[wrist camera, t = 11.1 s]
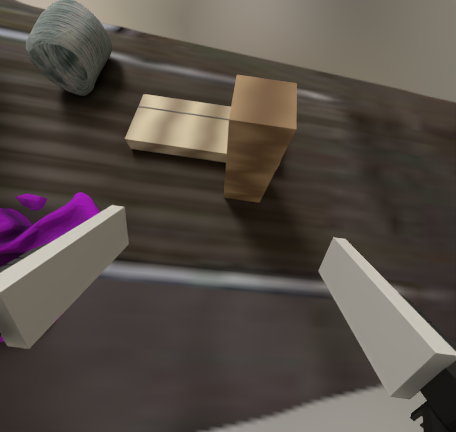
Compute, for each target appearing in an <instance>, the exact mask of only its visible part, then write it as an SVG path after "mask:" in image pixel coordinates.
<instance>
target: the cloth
mask: <svg viewBox="0 0 456 432" xmlns="http://www.w3.org/2000/svg"><path fill="white" fill-rule="evenodd" d="M16 198H17V199H18V200H19V201H20V202H21V204H22V205H24V206H26V207H28V208H30V210H40V209H42V208H43V207H44V205H45V202H46V200H47V198H43V197H39V196H35V195H31V194H24V195H20V196H17V197H16ZM98 213H100V211H99V209H98V208H97V206H96V205H95V204H94V202H93V201H92V199H91V198H90V197H89V196H88V195H86V194H85V193H82V192H81V193H77V194H75V195H74V197H73V199H72V200H71V201H70V202H69V203H68V204H66V205H65V206H63V207H61V208H60V209H58V210H56V211H54V212H52V213H50V214H48V215H47V216H45V217H44V218H42V219H40V220H39V221H38V222H36V223H35V224H34V225H32V224H31V222H30V221H29V220H28V219H27V218H26V217H25V216H24V215H22V214H21V213H20V212H19V211H17V210H14V209H3V208H0V267H2V266H4V265H5V266H6V265H7V263H9V262H11V261H12V260H14V259H18V257H19V256H21V255H23V254H24V253H26V252H28V251H29V250H31V249H34V248H36V247H39V246H42V245H44V244H47V243H48V244H49V243H50V242H52V241H54V240H55V239H57V238H59V237H60V236H62V235H64V234H65V233H67V232H69V231H70V230H72V229H74V228H75V227H77V226H79V225H80V224H82V223H84V222H85V221H87V220H88V219H90V218H92V217H93V216H95V215H97V214H98ZM60 317H61V316H60ZM60 317H59V318H60ZM59 318H58V319H59ZM58 319H57V320H58ZM57 320H56V321H57ZM56 321H55V322H56ZM0 342H5V341H4V340H3V338H2V337H1V336H0Z"/></svg>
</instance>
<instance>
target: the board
mask: <svg viewBox="0 0 456 432" xmlns="http://www.w3.org/2000/svg"><path fill="white" fill-rule="evenodd" d="M230 111H231V107H228V106H222V105H215V104H208V103H201V102H194V101H187V100H181V99H174V98H167V97H160V96H153V95H146V94H144V95H143V97H142V100H141V102H140V104H139V106H138V109H137V111H136V114H135V116H134V119H133V121H132V123H131V126H130V128H129V130H128V133H127V135H126V137H125V140H126V141H127V143H128V145H129V146H130V148H131V149H136V150H143V151H150V152H157V153H164V154H171V155H177V156H184V157H191V158H198V159H205V160H212V161H218V162H225V163H226V157H227V142H228V126H229V116H230ZM280 162H281V161H280ZM279 164H280V163H279ZM278 166H279V165H278ZM277 168H278V167H277ZM276 170H277V169H276Z"/></svg>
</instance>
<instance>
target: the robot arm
mask: <svg viewBox="0 0 456 432" xmlns="http://www.w3.org/2000/svg"><path fill="white" fill-rule="evenodd" d="M128 244H129V243H128V234H127V225H126V216H125V207H121V206H114V205H112V206H110V207H108V208H107V209H105V210H103V211H102V212H100V213H98V214H97V215H95V216H93V217H92V218H90V219H88V220H87V221H85V222H84V223H82V224H80V225H79V226H77V227H75V228H74V229H72V230H70V231H69V232H67V233H65V234H64V235H62V236H60V237H59V238H57V239H55V240H54V241H52V242H50V243H49V244H48V243H47V244H44V245H42V246H39V247H36V248H34V249H31V250H29V251H28V252H26V253H24V254H23V255H21V256H19V257H18V259H14V260H12V261H11V262H9V263H7V265H6V266H5V265H4V266H2V267H0V336H1V337H2V338H3V340H4V341H5V343H6V345H7V346H11V347H18V348H26V349H30V347H31V346H32V345H33V344H34V343H35V342H36V341H37V340H38V339H39V338H40V337H41V336H42V335H43V334H44V333H45V332H46V331H47V330H48V329H49V327H50V326H51V325H52V324H53V323H54V322H55V321H56V320H57V319H58V318H59V317H60V316H61V315H62V314H63V313H64V312H65V311H66V310H67V309H68V307H69V306H70V305H71V304H72V303H73V302H74V301H75V300H76V299H77V298H78V297H79V296H80V295H81V294H82V293H83V292H84V291H85V290H86V289H87V287H88V286H89V285H90V284H91V283H92V282H93V281H94V280H95V279H96V278H97V277H98V276H99V275H100V274H101V273H102V272H103V271H104V270H105V269H106V267H107V266H108V265H109V264H110V263H111V262H112V261H113V260H114V259H115V258H116V257H117V256H118V255H119V254H120V253H121V252H122V251H123V250H124V248H125V247H126V246H127V245H128ZM319 273H320V275H321V277H322V278H323V280H324V282H325V284H326V286H327V287H328V289H329V291H330V293H331V294H332V296H333V298H334V300H335V301H336V303H337V305H338V307H339V308H340V310H341V312H342V314H343V315H344V317H345V319H346V321H347V322H348V324H349V326H350V328H351V330H352V331H353V333H354V335H355V337H356V338H357V340H358V342H359V344H360V345H361V347H362V349H363V351H364V352H365V354H366V356H367V358H368V359H369V361H370V363H371V365H372V366H373V368H374V370H375V372H376V374H377V375H378V377H379V379H380V381H381V382H382V384H383V386H384V388H385V389H386V391H387V393H388V394H389V396H390V397H397V398H404V399H411V398H412V397H413V396H414V395H416V394H417V393H418V392H419V391H421V393H422V394H423V395H424V397H425V398H426V400H427V401H426V402H425V403H424V404H422V405H421V406H420V407H419V408H418V409H416V410H415V411H414V412H412V414H411V417H410V418H411V419H412V420H413V421H415V420H416V419H418V418H419V417H420V416H423V423H422V424H420V426H421V427H422V428H424V432H456V346H455V345H454V344H453V343H452V342H451V341H450V340H449V339H448V338H447V337H446V336H445V335H444V334H443V333H442V332H441V331H440V330H439V329H438V328H437V327H436V326H435V325H434V324H432V323H431V321H430V320H429V319H428V318H427V317H426V316H425V315H423V314H422V312H421V311H420V310H419V309H418V308H417V307H416V306H415V305H414V304H413V303H412V302H411V301H410V300H408V299H407V298H405V297H404V296H403V295H401V294H400V293H398V292H397V291H396V290H395V289H394V288H393V287H392V286H391V285H390V284H389V283H388V282H387V281H386V280H385V279H384V278H383V277H382V276H381V275H380V274H379V273H378V272H377V271H376V270H375V269H374V268H373V267H372V266H371V265H370V264H369V263H368V262H367V261H366V260H365V259H364V258H363V257H362V255H361V254H360V253H359V252H358V251H357V250H356V249H355V248H354V247H353V246H352V245H351V244H350V243H349V242H348V241H347V240H346V239H341V238H334V237H333V240H332V242H331V244H330V246H329V248H328V251H327V253H326V255H325V257H324V260H323V262H322V264H321V266H320V268H319Z"/></svg>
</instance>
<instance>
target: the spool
mask: <svg viewBox="0 0 456 432" xmlns="http://www.w3.org/2000/svg"><path fill="white" fill-rule="evenodd" d="M26 51H27V54H28V56H29V58H30V59H31V61H32V62H33V64H34V65H35V66H36V67H37V68H38V69H39V70H40V71H41V72H42V73H43V74H44V75H45V76H46V77H47V78H48V79H50V80H51V81H52V82H54V83H55V84H57V85H58V86H60V87H61V88H63V89H64V90H66V91H68V92H70V93H73V94H76V95H80V96H85V95H87V94H88V93H90V92H91V91H92V90H93V89H94V85H95V82H96V80H97V78H98V76H99V74H100V72H101V70H102V68H103V67H104V65H105V64H106V62H107V60H108V59H109V57H110V54H111V51H112V45H111V40H110V38H109V35H108V33H107V32H106V30H105V29H104V27H103V26H102V24H101V23H100V21H99V20H98V19H97V18H96V17H95V16H94V15H93V14H92V13H91V12H90V11H89V10H88V9H87V8H85V7H84V6H83V5H81V4H79V3H78V2H76V1H74V0H60V1H57V2H54V3H52V4H51V5H50V6H49V7H48V8H47V9H46V10H45V11H44V12H43V13H42V14H41V15H40V17H39V18H38V20H37V22H36V24H35V25H34V27H33V29H32V32H31V33H30V35H29V37H28V39H27V41H26Z"/></svg>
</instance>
